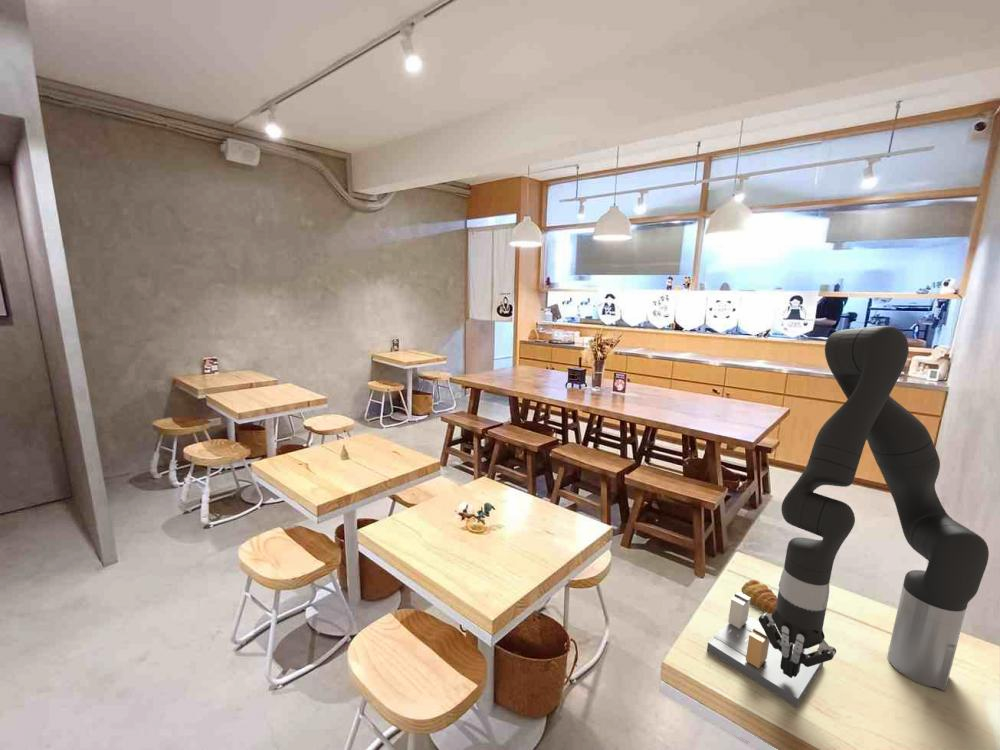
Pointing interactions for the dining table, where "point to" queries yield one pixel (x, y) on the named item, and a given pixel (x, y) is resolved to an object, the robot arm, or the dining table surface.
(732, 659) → the console
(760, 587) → the pastry
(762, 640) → the orange fader
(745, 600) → the cream fader
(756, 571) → the dining table surface
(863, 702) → the dining table surface
